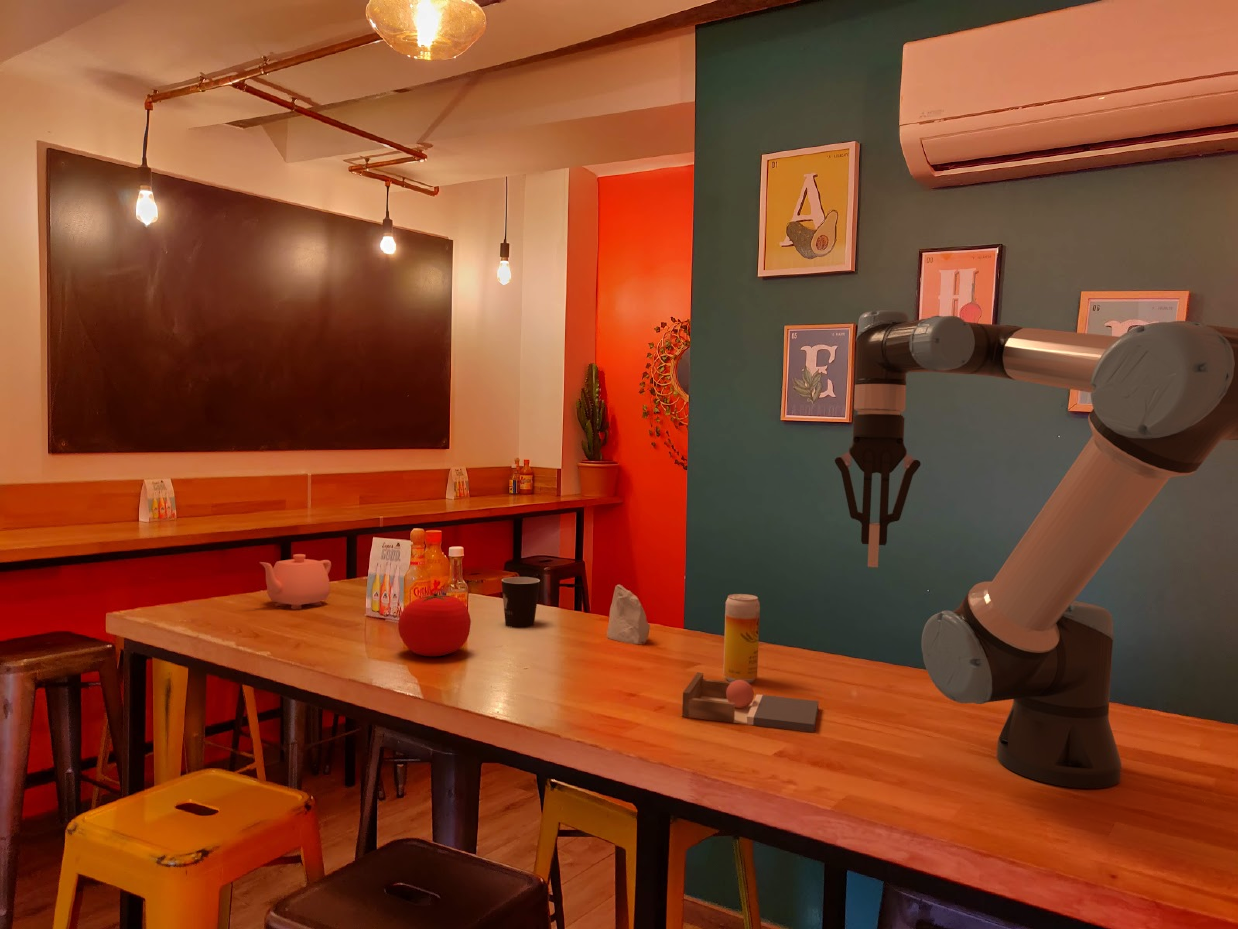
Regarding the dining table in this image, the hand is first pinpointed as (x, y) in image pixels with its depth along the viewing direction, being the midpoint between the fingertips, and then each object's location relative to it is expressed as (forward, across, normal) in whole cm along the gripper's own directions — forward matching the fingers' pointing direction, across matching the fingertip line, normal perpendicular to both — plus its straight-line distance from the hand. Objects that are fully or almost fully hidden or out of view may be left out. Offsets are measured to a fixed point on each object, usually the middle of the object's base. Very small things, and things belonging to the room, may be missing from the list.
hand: (872, 565), depth 135 cm
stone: (+25, +49, -37) cm, 66 cm away
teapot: (+25, +132, -39) cm, 140 cm away
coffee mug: (+25, +75, -42) cm, 90 cm away
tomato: (+25, +80, -12) cm, 85 cm away
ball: (+22, +20, +1) cm, 30 cm away
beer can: (+25, +22, -16) cm, 37 cm away
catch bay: (+24, +24, +2) cm, 34 cm away
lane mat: (+24, +18, +2) cm, 30 cm away
